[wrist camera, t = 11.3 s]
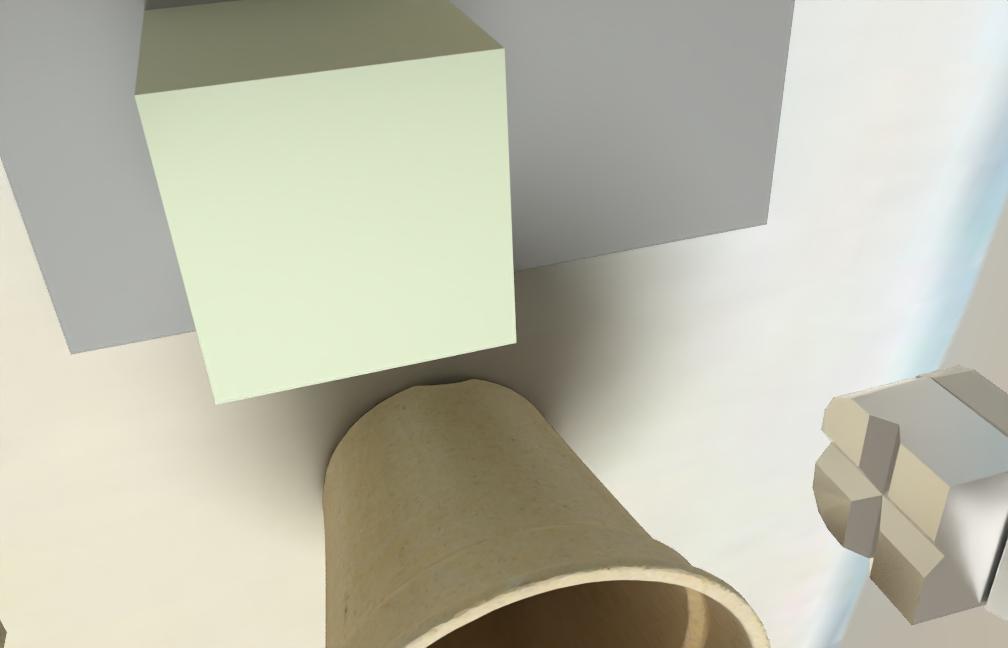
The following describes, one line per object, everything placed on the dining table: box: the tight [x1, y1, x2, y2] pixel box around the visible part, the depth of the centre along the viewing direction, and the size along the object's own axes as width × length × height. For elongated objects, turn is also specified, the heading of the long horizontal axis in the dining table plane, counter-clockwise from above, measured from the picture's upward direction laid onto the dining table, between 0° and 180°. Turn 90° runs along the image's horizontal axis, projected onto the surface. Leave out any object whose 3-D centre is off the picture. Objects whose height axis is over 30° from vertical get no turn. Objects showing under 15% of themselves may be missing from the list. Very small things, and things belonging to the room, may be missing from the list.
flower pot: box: [323, 379, 770, 648], centre depth 21 cm, size 9×9×9 cm
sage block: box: [134, 0, 516, 405], centre depth 16 cm, size 5×5×5 cm
